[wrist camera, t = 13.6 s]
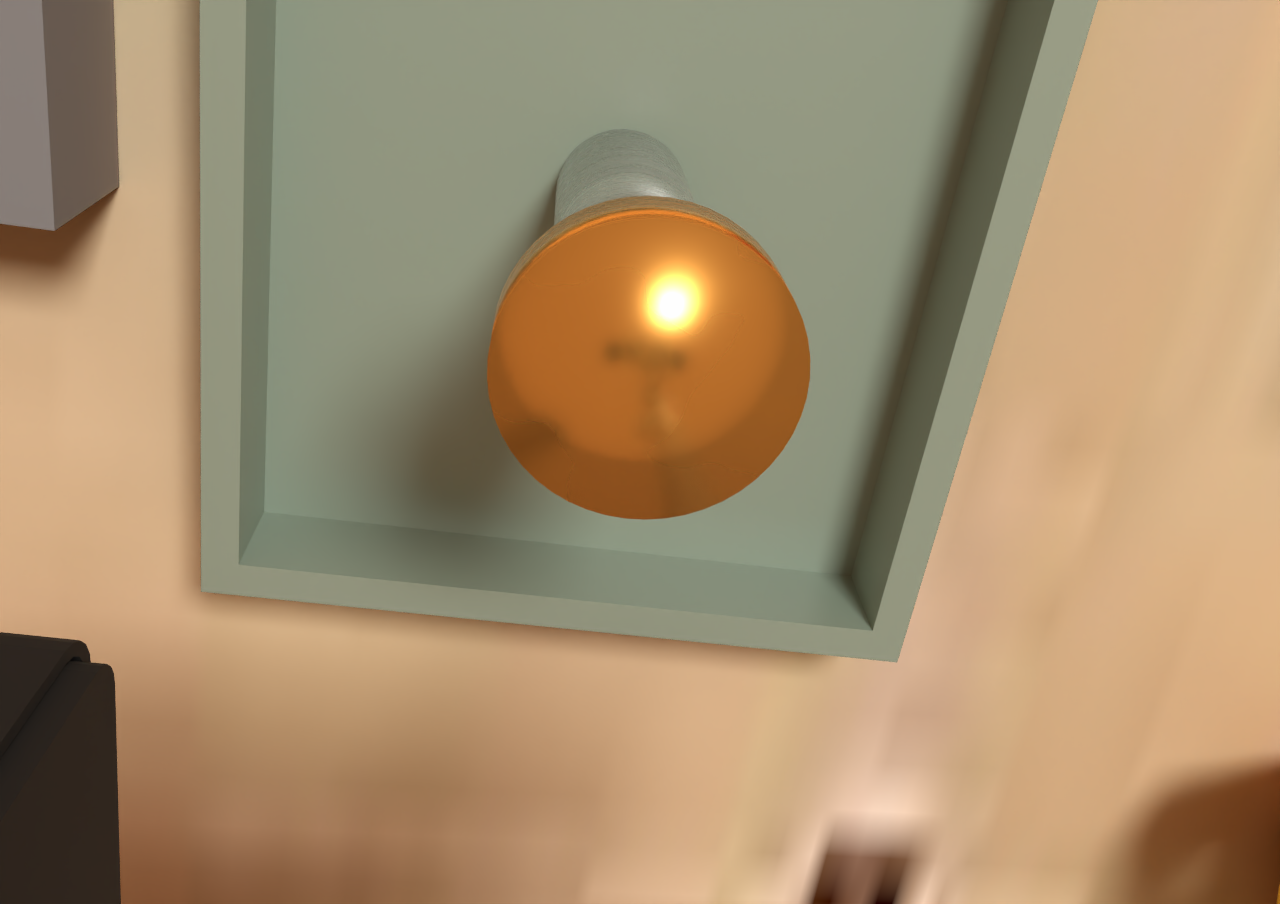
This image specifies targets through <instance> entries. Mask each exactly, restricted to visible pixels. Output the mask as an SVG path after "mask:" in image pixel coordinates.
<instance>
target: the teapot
mask: <svg viewBox="0 0 1280 904" xmlns="http://www.w3.org/2000/svg"><path fill="white" fill-rule="evenodd" d="M1277 904H1280V884H1279V891H1278V898H1277Z"/></svg>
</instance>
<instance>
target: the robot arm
mask: <svg viewBox="0 0 1280 904" xmlns="http://www.w3.org/2000/svg"><path fill="white" fill-rule="evenodd" d="M0 904H121V895H120V858H119V820H118V783H117V745H116V708H115V680H114V673H113V670H112V668H111V666H109V665H108V664H99V663H91V661H90V653H89V651H88V648H87V646H86V644H85V643H83V642H82V641H80V640H70V639H60V638H51V637H41V636H31V635H22V634H12V633H2V632H1V633H0Z"/></svg>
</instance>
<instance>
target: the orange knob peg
mask: <svg viewBox="0 0 1280 904" xmlns="http://www.w3.org/2000/svg"><path fill="white" fill-rule="evenodd" d="M809 382H810V351H809V342H808V337H807V333H806V329H805V326H804V322H803V319H802V316H801V314H800V312H799V309H798V307H797V305H796V302H795V300H794V298H793V297H792V295H791V293H790V291H789V289H788V287H787V285H786V283H785V281H784V279H783V277H782V275H781V274H780V272H779V270H778V269H777V267H776V265H775V264H774V262H773V260H772V259H771V257H770V256H769V255H768V254H767V252H766V251H765V250H764V249H763V248H762V246H761V245H760V244H759V243H758V242H757V241H756V240H755V239H754V238H753V237H752V236H751V235H750V234H749V233H748V232H747V231H745V230H744V229H743V228H742V227H740V226H739V225H737V224H736V223H734V222H733V221H732V220H730V219H729V218H727V217H725V216H723V215H721V214H719V213H717V212H715V211H714V210H712V209H710V208H707V207H704V206H701V205H698V204H696V203H695V202H694V199H693V197H692V194H691V191H690V189H689V186H688V183H687V181H686V178H685V175H684V173H683V170H682V168H681V166H680V163H679V162H678V160H677V159H676V157H675V156H674V154H673V153H672V152H671V151H670V150H669V149H668V148H667V147H666V146H665V145H664V144H663V143H662V142H660V141H659V140H657V139H656V138H654V137H652V136H650V135H648V134H645V133H643V132H640V131H635V130H629V129H614V130H608V131H604V132H601V133H598V134H596V135H593V136H591V137H589V138H588V139H586V140H585V141H583V142H582V143H581V144H579V145H578V146H577V147H576V148H575V149H574V150H573V151H572V152H571V153H570V155H569V156H568V157H567V159H566V160H565V162H564V164H563V166H562V168H561V170H560V173H559V176H558V180H557V185H556V199H555V218H554V226H552V227H551V228H550V229H549V230H547V231H546V232H545V233H544V234H543V235H542V236H540V237H539V238H538V239H537V240H536V241H535V242H534V243H533V244H532V245H531V246H530V247H529V249H528V250H527V251H526V252H525V253H524V254H523V255H522V257H521V258H520V260H519V261H518V263H517V264H516V266H515V267H514V268H513V270H512V271H511V273H510V275H509V277H508V279H507V281H506V283H505V285H504V287H503V289H502V292H501V295H500V298H499V301H498V305H497V308H496V313H495V318H494V324H493V329H492V335H491V341H490V346H489V352H488V358H487V384H488V394H489V400H490V404H491V408H492V412H493V416H494V418H495V421H496V423H497V426H498V428H499V431H500V433H501V435H502V437H503V439H504V440H505V442H506V444H507V446H508V447H509V449H510V451H511V452H512V453H513V455H514V456H515V457H516V459H517V460H518V461H519V462H520V464H521V465H522V466H523V467H524V468H525V469H526V470H527V471H528V472H529V473H530V474H531V475H532V476H533V477H534V478H535V479H536V480H537V481H538V482H539V483H541V484H542V485H543V486H545V487H546V488H547V489H549V490H550V491H551V492H553V493H554V494H556V495H558V496H560V497H561V498H563V499H565V500H566V501H568V502H570V503H573V504H575V505H577V506H579V507H582V508H584V509H586V510H590V511H593V512H596V513H600V514H603V515H607V516H613V517H619V518H625V519H641V520H649V519H665V518H671V517H677V516H682V515H687V514H690V513H693V512H697V511H700V510H704V509H706V508H708V507H711V506H713V505H715V504H718V503H720V502H722V501H724V500H726V499H728V498H729V497H731V496H733V495H735V494H736V493H738V492H740V491H741V490H743V489H744V488H745V487H747V486H748V485H749V484H751V483H752V482H753V481H755V480H756V479H757V478H758V477H759V476H760V475H761V474H762V473H763V472H764V471H765V470H766V469H767V468H769V467H770V465H771V464H772V463H773V462H774V461H775V459H776V458H777V457H778V456H779V455H780V453H781V452H782V451H783V449H784V448H785V446H786V444H787V443H788V441H789V440H790V438H791V437H792V435H793V433H794V431H795V429H796V427H797V424H798V422H799V420H800V418H801V415H802V412H803V409H804V405H805V402H806V399H807V394H808V388H809Z"/></svg>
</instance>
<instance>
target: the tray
mask: <svg viewBox="0 0 1280 904" xmlns="http://www.w3.org/2000/svg"><path fill="white" fill-rule="evenodd" d="M1097 2H1098V0H200V338H201V592H209V593H219V594H229V595H239V596H249V597H259V598H269V599H278V600H288V601H298V602H308V603H318V604H328V605H337V606H347V607H357V608H367V609H377V610H387V611H397V612H406V613H416V614H426V615H436V616H446V617H456V618H466V619H475V620H485V621H495V622H505V623H515V624H525V625H534V626H544V627H554V628H564V629H574V630H584V631H594V632H603V633H613V634H623V635H633V636H643V637H653V638H663V639H672V640H682V641H692V642H702V643H712V644H722V645H732V646H741V647H751V648H761V649H771V650H781V651H791V652H800V653H810V654H820V655H830V656H840V657H850V658H860V659H869V660H879V661H889V662H897V661H898V658H899V655H900V652H901V648H902V645H903V642H904V638H905V635H906V632H907V628H908V625H909V622H910V619H911V615H912V612H913V609H914V605H915V602H916V599H917V595H918V592H919V589H920V586H921V582H922V579H923V576H924V572H925V569H926V566H927V563H928V559H929V556H930V553H931V549H932V546H933V543H934V539H935V536H936V533H937V530H938V526H939V523H940V520H941V516H942V513H943V510H944V506H945V503H946V500H947V497H948V493H949V490H950V487H951V483H952V480H953V477H954V473H955V470H956V467H957V464H958V460H959V457H960V454H961V450H962V447H963V444H964V440H965V437H966V434H967V431H968V427H969V424H970V421H971V417H972V414H973V411H974V407H975V404H976V401H977V398H978V394H979V391H980V388H981V384H982V381H983V378H984V375H985V371H986V368H987V365H988V361H989V358H990V355H991V351H992V348H993V345H994V342H995V338H996V335H997V332H998V328H999V325H1000V322H1001V318H1002V315H1003V312H1004V309H1005V305H1006V302H1007V299H1008V295H1009V292H1010V289H1011V285H1012V282H1013V279H1014V276H1015V272H1016V269H1017V266H1018V262H1019V259H1020V256H1021V252H1022V249H1023V246H1024V243H1025V239H1026V236H1027V233H1028V229H1029V226H1030V223H1031V220H1032V216H1033V213H1034V210H1035V206H1036V203H1037V200H1038V196H1039V193H1040V190H1041V187H1042V183H1043V180H1044V177H1045V173H1046V170H1047V167H1048V163H1049V160H1050V157H1051V154H1052V150H1053V147H1054V144H1055V140H1056V137H1057V134H1058V130H1059V127H1060V124H1061V121H1062V117H1063V114H1064V111H1065V107H1066V104H1067V101H1068V97H1069V94H1070V91H1071V88H1072V84H1073V81H1074V78H1075V74H1076V71H1077V68H1078V64H1079V61H1080V58H1081V55H1082V51H1083V48H1084V45H1085V41H1086V38H1087V35H1088V32H1089V28H1090V25H1091V22H1092V18H1093V15H1094V12H1095V8H1096V5H1097ZM614 129H629V130H635V131H640V132H643V133H645V134H648V135H650V136H652V137H654V138H656V139H657V140H659V141H660V142H662V143H663V144H664V145H665V146H666V147H667V148H668V149H669V150H670V151H671V152H672V153H673V154H674V156H675V157H676V159H677V160H678V162H679V163H680V166H681V168H682V170H683V173H684V175H685V178H686V181H687V183H688V186H689V189H690V191H691V194H692V197H693V199H694V202H695V203H696V204H698V205H701V206H704V207H707V208H710V209H712V210H714V211H715V212H717V213H719V214H721V215H723V216H725V217H727V218H729V219H730V220H732V221H733V222H734V223H736V224H737V225H739V226H740V227H742V228H743V229H744V230H745V231H747V232H748V233H749V234H750V235H751V236H752V237H753V238H754V239H755V240H756V241H757V242H758V243H759V244H760V245H761V246H762V248H763V249H764V250H765V251H766V252H767V254H768V255H769V256H770V257H771V259H772V260H773V262H774V264H775V265H776V267H777V269H778V270H779V272H780V274H781V275H782V277H783V279H784V281H785V283H786V285H787V287H788V289H789V291H790V293H791V295H792V297H793V298H794V300H795V302H796V305H797V307H798V309H799V312H800V314H801V316H802V319H803V322H804V326H805V329H806V333H807V337H808V342H809V351H810V382H809V388H808V394H807V399H806V402H805V405H804V409H803V412H802V415H801V418H800V420H799V422H798V424H797V427H796V429H795V431H794V433H793V435H792V437H791V438H790V440H789V441H788V443H787V444H786V446H785V448H784V449H783V451H782V452H781V453H780V455H779V456H778V457H777V458H776V459H775V461H774V462H773V463H772V464H771V465H770V467H769V468H767V469H766V470H765V471H764V472H763V473H762V474H761V475H760V476H759V477H758V478H757V479H756V480H755V481H753V482H752V483H751V484H749V485H748V486H747V487H745V488H744V489H743V490H741V491H740V492H738V493H736V494H735V495H733V496H731V497H729V498H728V499H726V500H724V501H722V502H720V503H718V504H715V505H713V506H711V507H708V508H706V509H704V510H700V511H697V512H693V513H690V514H687V515H682V516H677V517H671V518H665V519H649V520H641V519H625V518H619V517H613V516H607V515H603V514H600V513H596V512H593V511H590V510H586V509H584V508H582V507H579V506H577V505H575V504H573V503H570V502H568V501H566V500H565V499H563V498H561V497H560V496H558V495H556V494H554V493H553V492H551V491H550V490H549V489H547V488H546V487H545V486H543V485H542V484H541V483H539V482H538V481H537V480H536V479H535V478H534V477H533V476H532V475H531V474H530V473H529V472H528V471H527V470H526V469H525V468H524V467H523V466H522V465H521V464H520V462H519V461H518V460H517V459H516V457H515V456H514V455H513V453H512V452H511V451H510V449H509V447H508V446H507V444H506V442H505V440H504V439H503V437H502V435H501V433H500V431H499V428H498V426H497V423H496V421H495V418H494V416H493V412H492V408H491V404H490V400H489V394H488V384H487V358H488V352H489V346H490V341H491V335H492V329H493V324H494V318H495V313H496V308H497V305H498V301H499V298H500V295H501V292H502V289H503V287H504V285H505V283H506V281H507V279H508V277H509V275H510V273H511V271H512V270H513V268H514V267H515V266H516V264H517V263H518V261H519V260H520V258H521V257H522V255H523V254H524V253H525V252H526V251H527V250H528V249H529V247H530V246H531V245H532V244H533V243H534V242H535V241H536V240H537V239H538V238H539V237H540V236H542V235H543V234H544V233H545V232H546V231H547V230H549V229H550V228H551V227H552V226H554V218H555V199H556V185H557V180H558V176H559V173H560V170H561V168H562V166H563V164H564V162H565V160H566V159H567V157H568V156H569V155H570V153H571V152H572V151H573V150H574V149H575V148H576V147H577V146H578V145H579V144H581V143H582V142H583V141H585V140H586V139H588V138H589V137H591V136H593V135H596V134H598V133H601V132H604V131H608V130H614Z"/></svg>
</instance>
